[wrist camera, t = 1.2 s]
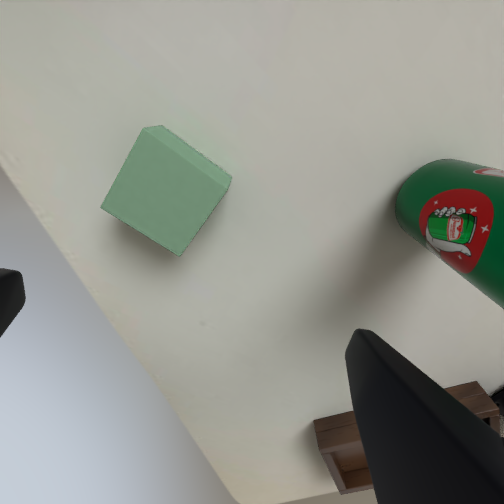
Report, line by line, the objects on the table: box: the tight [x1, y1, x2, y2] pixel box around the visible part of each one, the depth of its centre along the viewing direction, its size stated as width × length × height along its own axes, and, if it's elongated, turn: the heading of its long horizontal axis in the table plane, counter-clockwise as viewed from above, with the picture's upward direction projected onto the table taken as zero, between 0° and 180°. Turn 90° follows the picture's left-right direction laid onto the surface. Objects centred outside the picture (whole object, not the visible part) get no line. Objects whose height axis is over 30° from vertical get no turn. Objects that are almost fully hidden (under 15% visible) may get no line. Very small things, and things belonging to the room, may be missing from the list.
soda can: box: [395, 159, 504, 309], centre depth 13 cm, size 5×5×12 cm
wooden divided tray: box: [314, 381, 501, 495], centre depth 27 cm, size 15×8×4 cm, turn 111°
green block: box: [101, 125, 232, 257], centre depth 17 cm, size 5×5×3 cm
